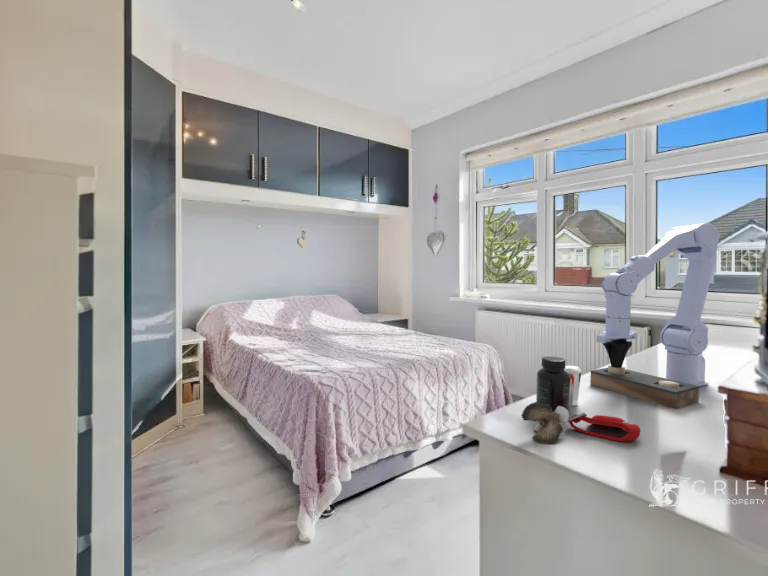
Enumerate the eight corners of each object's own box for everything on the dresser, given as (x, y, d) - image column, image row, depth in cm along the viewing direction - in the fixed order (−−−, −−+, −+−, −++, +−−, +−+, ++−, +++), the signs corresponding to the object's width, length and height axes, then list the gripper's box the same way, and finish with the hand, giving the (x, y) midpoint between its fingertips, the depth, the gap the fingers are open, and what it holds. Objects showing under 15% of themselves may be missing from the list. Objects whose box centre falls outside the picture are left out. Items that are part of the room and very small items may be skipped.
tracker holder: (605, 415, 83) (651, 420, 74) (605, 437, 82) (652, 445, 73) (560, 408, 79) (603, 413, 70) (560, 431, 78) (603, 439, 69)
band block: (613, 380, 112) (613, 366, 112) (698, 402, 93) (699, 386, 93) (590, 384, 107) (590, 370, 107) (674, 409, 89) (675, 392, 88)
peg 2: (664, 394, 97) (664, 379, 97) (682, 398, 94) (682, 384, 93) (654, 396, 95) (655, 381, 95) (672, 401, 92) (673, 386, 92)
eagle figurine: (524, 416, 82) (511, 421, 75) (546, 390, 80) (534, 393, 73) (555, 444, 78) (545, 453, 70) (579, 418, 76) (570, 424, 69)
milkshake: (574, 399, 95) (575, 359, 95) (583, 407, 90) (584, 364, 89) (555, 399, 96) (556, 359, 95) (563, 406, 90) (564, 364, 90)
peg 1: (613, 377, 109) (614, 364, 109) (628, 381, 105) (628, 367, 105) (604, 379, 107) (604, 366, 107) (618, 382, 103) (619, 369, 103)
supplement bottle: (560, 406, 91) (561, 355, 90) (575, 417, 84) (576, 362, 84) (531, 406, 91) (532, 355, 90) (544, 417, 84) (545, 362, 83)
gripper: (620, 314, 112) (618, 361, 113) (586, 317, 106) (585, 366, 106) (645, 317, 106) (644, 366, 106) (611, 320, 99) (610, 372, 100)
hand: (616, 367), depth 106 cm, fingers closed, pressing on peg 1
